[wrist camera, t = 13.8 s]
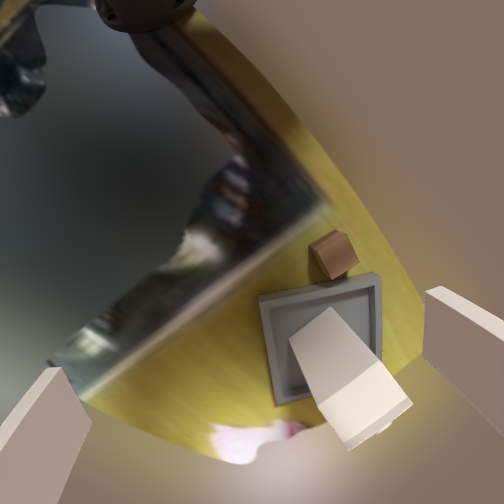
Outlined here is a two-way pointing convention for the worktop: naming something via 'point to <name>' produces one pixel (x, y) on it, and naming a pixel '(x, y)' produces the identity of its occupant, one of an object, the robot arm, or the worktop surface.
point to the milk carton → (347, 379)
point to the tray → (308, 308)
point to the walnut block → (334, 254)
